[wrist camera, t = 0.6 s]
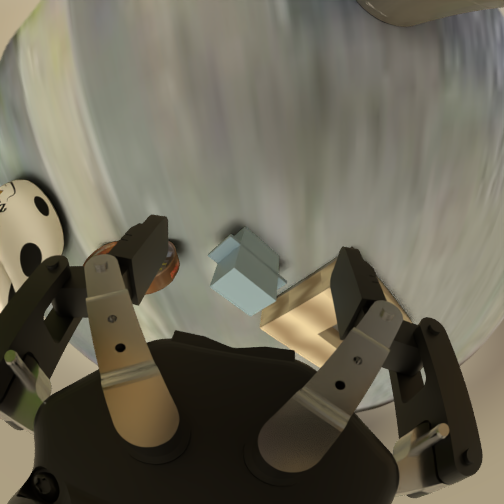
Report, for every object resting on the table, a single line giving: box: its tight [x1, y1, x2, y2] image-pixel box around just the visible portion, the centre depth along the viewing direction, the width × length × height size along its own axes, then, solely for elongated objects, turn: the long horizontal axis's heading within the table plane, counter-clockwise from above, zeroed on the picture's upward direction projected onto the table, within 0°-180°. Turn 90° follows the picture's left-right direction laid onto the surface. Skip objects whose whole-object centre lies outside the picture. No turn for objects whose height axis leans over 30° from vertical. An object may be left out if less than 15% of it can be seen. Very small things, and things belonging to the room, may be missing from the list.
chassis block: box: [260, 247, 412, 368], centre depth 39 cm, size 16×20×4 cm
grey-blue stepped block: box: [208, 226, 287, 316], centre depth 32 cm, size 4×9×8 cm, turn 46°
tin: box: [83, 241, 180, 295], centre depth 34 cm, size 15×3×8 cm, turn 96°
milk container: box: [0, 179, 64, 313], centre depth 29 cm, size 17×17×18 cm
